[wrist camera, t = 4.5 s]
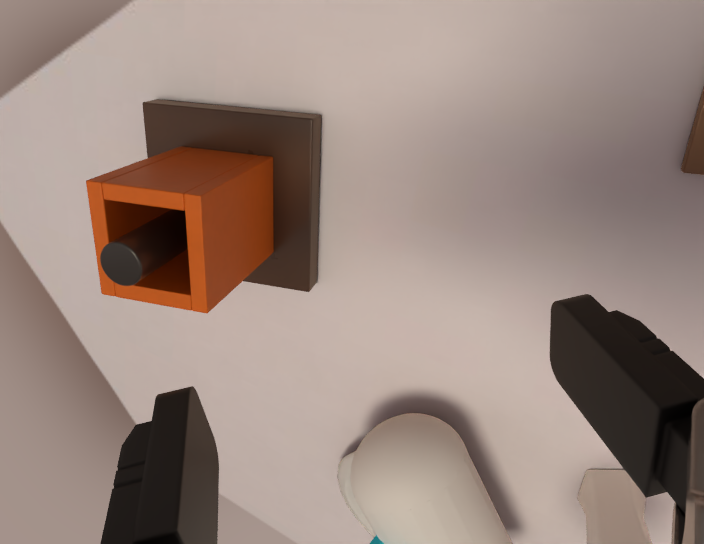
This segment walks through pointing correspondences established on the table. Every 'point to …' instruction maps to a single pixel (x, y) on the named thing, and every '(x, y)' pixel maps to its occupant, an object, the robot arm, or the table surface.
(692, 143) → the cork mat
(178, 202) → the orange square tube
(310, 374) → the table surface
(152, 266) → the stake
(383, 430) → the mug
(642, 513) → the perfume bottle
